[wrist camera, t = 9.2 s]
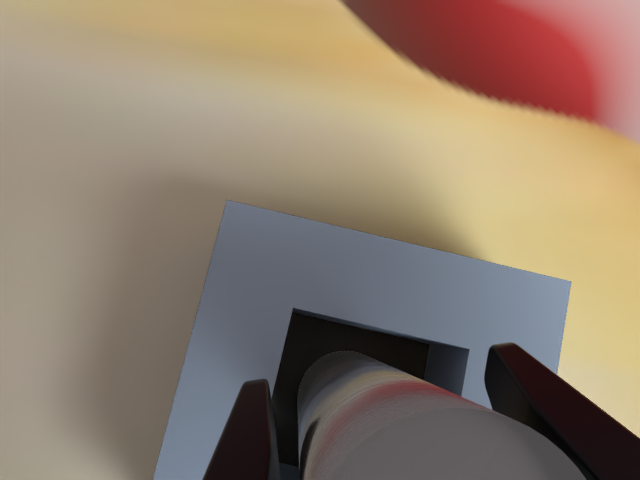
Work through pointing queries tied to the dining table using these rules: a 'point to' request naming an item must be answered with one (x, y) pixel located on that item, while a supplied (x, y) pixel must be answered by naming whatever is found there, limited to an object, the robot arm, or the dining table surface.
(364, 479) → the peg
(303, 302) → the hole block
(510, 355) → the robot arm
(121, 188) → the dining table surface
